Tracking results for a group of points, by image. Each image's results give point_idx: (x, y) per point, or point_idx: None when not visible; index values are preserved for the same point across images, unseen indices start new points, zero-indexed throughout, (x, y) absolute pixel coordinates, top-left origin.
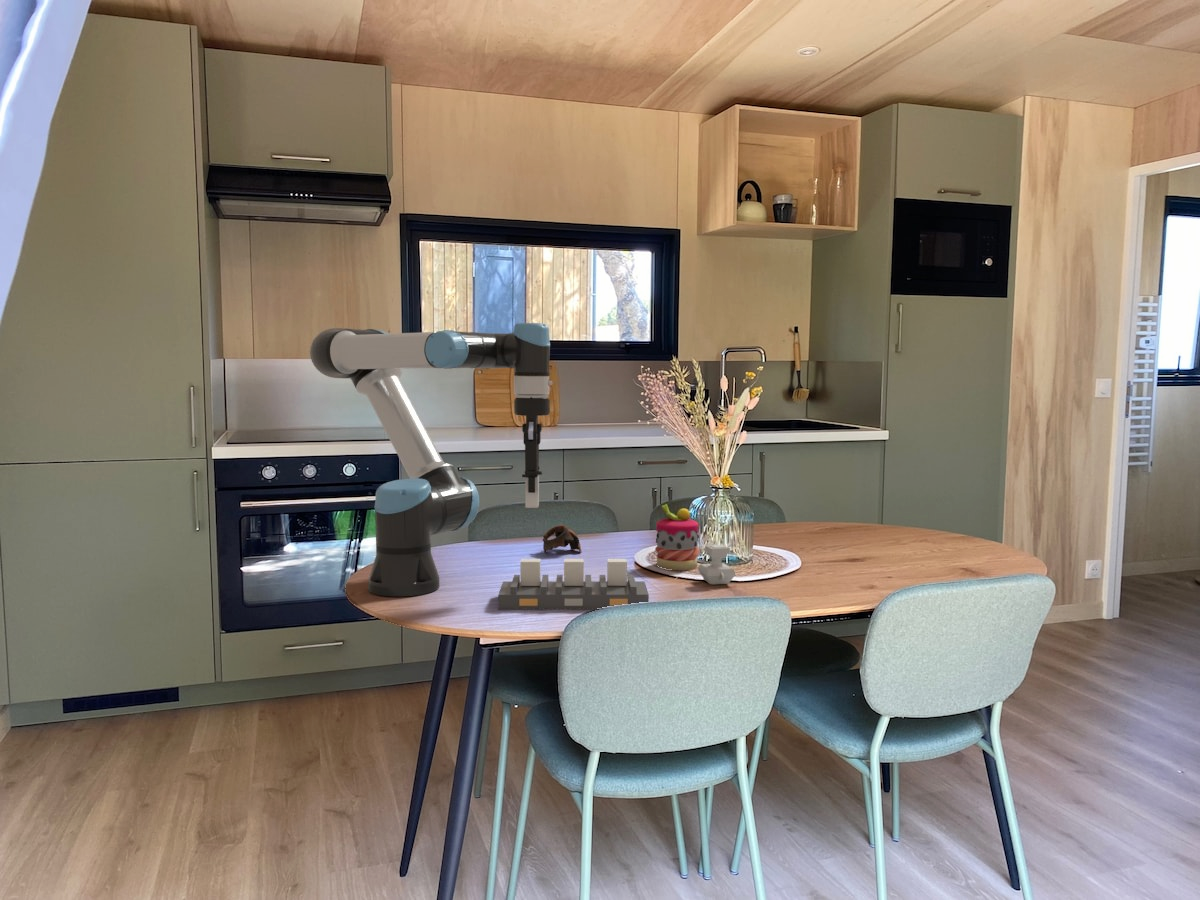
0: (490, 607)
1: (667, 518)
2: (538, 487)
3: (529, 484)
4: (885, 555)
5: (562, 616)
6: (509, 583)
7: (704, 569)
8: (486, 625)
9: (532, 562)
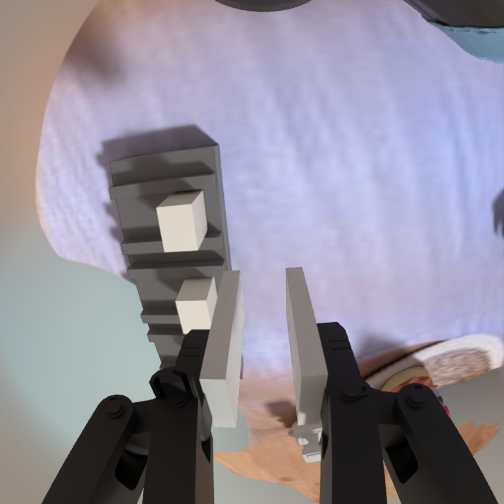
0: (133, 140)
1: None
2: (293, 372)
3: (177, 366)
4: (386, 478)
5: (109, 264)
6: (198, 164)
7: (306, 427)
8: (50, 165)
9: (162, 235)
